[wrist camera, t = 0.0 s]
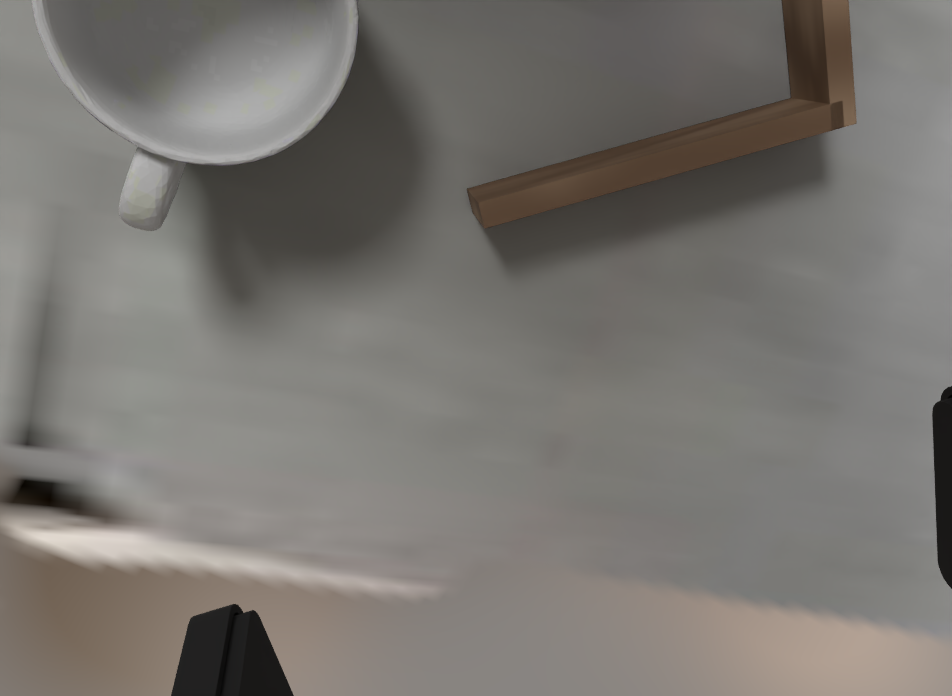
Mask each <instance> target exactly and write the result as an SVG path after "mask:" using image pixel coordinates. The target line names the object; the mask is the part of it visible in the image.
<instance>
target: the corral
mask: <svg viewBox="0 0 952 696" xmlns="http://www.w3.org/2000/svg"><path fill="white" fill-rule="evenodd" d="M782 5H783V16H784V26H785V37H786V47H787V58H788V68H789V79H790V90H791V98H790V99H786V100H782V101H779V102H775V103H772V104H768V105H764V106H761V107H757V108H754V109H750V110H747V111H743V112H739V113H736V114H732V115H729V116H725V117H722V118H718V119H714V120H711V121H707V122H704V123H700V124H697V125H693V126H689V127H686V128H682V129H679V130H675V131H671V132H668V133H664V134H661V135H657V136H654V137H650V138H646V139H643V140H639V141H636V142H632V143H629V144H625V145H621V146H618V147H614V148H611V149H607V150H604V151H600V152H596V153H593V154H589V155H586V156H582V157H578V158H575V159H571V160H568V161H564V162H561V163H557V164H553V165H550V166H546V167H543V168H539V169H536V170H532V171H528V172H525V173H521V174H518V175H514V176H511V177H507V178H503V179H500V180H496V181H493V182H489V183H485V184H482V185H478V186H475V187H471V188H468V189H467V192H468V196H469V200H470V204H471V208H472V212H473V214H474V215H475V216H476V218H477V219H478V220H479V222H480V223H481V224H482V226H483V227H484V228H488V227H492V226H496V225H499V224H503V223H506V222H510V221H513V220H517V219H520V218H524V217H527V216H531V215H534V214H538V213H542V212H545V211H549V210H552V209H556V208H559V207H563V206H566V205H570V204H573V203H577V202H580V201H584V200H588V199H591V198H595V197H598V196H602V195H605V194H609V193H612V192H616V191H619V190H623V189H626V188H630V187H633V186H637V185H641V184H644V183H648V182H651V181H655V180H658V179H662V178H665V177H669V176H672V175H676V174H679V173H683V172H687V171H690V170H694V169H697V168H701V167H704V166H708V165H711V164H715V163H718V162H722V161H725V160H729V159H733V158H736V157H740V156H743V155H747V154H750V153H754V152H757V151H761V150H764V149H768V148H771V147H775V146H779V145H782V144H786V143H789V142H793V141H796V140H800V139H803V138H807V137H810V136H814V135H817V134H821V133H825V132H828V131H832V130H835V129H839V128H842V127H846V126H849V125H853V124H856V107H855V92H854V77H853V62H852V47H851V32H850V17H849V2H848V0H782Z"/></svg>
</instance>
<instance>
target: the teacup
mask: <svg viewBox="0 0 952 696" xmlns="http://www.w3.org/2000/svg"><path fill="white" fill-rule="evenodd" d="M32 9H33V14H34V18H35V22H36V27H37V31H38V33H39V36H40V38H41V40H42V43H43V45H44V47H45V49H46V52H47V54H48V56H49V59H50V62H51V63H52V65H53V67H54V69H55V70H56V72H57V74H58V75H59V77H60V78H61V80H62V82H63V83H64V85H65V86H66V87H67V88H68V89H69V90H70V92H71V93H72V95H73V96H74V97H75V99H76V100H77V101H78V102H79V103H80V104H81V105H82V106H83V107H84V108H85V109H86V110H87V111H88V112H89V113H90V114H91V115H92V116H94V117H95V118H96V119H97V120H98V121H99V122H101V123H102V124H103V125H105V126H106V127H107V128H109V129H110V130H111V131H113V132H115V133H116V134H118V135H120V136H121V137H123V138H124V139H126V140H128V141H129V142H131V143H133V144H135V145H136V146H138V148H137V150H136V152H135V155H134V157H133V160H132V163H131V166H130V169H129V172H128V174H127V177H126V181H125V184H124V187H123V190H122V194H121V198H120V204H119V216H120V218H121V219H122V220H123V221H124V222H125V223H127V224H128V225H130V226H132V227H134V228H138V229H142V230H146V231H154V230H157V229H159V228H160V227H161V226H162V224H163V222H164V220H165V218H166V216H167V214H168V211H169V209H170V206H171V204H172V201H173V199H174V196H175V194H176V191H177V189H178V185H179V182H180V179H181V177H182V174H183V171H184V168H185V165H186V163H191V164H199V165H212V166H227V165H236V164H242V163H249V162H255V161H258V160H261V159H263V158H266V157H269V156H272V155H275V154H277V153H279V152H281V151H283V150H285V149H287V148H289V147H290V146H292V145H293V144H295V143H296V142H297V141H299V140H300V139H302V138H303V137H305V136H306V135H307V134H308V133H309V132H310V131H312V130H313V129H314V128H315V127H316V126H317V125H318V124H319V123H320V122H321V120H322V119H323V118H324V116H325V115H326V114H327V113H328V112H329V110H330V109H331V108H332V106H333V105H334V103H335V102H336V100H337V98H338V97H339V95H340V93H341V91H342V89H343V88H344V86H345V83H346V81H347V79H348V77H349V74H350V71H351V68H352V64H353V61H354V56H355V52H356V44H357V36H358V19H359V15H358V2H357V0H32Z"/></svg>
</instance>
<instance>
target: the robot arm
mask: <svg viewBox="0 0 952 696" xmlns="http://www.w3.org/2000/svg"><path fill="white" fill-rule="evenodd" d="M932 416H933V443H934V470H935V497H936V524H937V551H938V564H939V568H940V571H941V574H942V576H943V578H944V579H945V581H946V582H947V584H948V585H949V586H950V587H951V588H952V386H951V387H948V388H947V389H945V390H944V391H943V393H942V395H941V401H939V402H937V403H936V404H935V405H934V407H933V413H932ZM171 696H294V695H293V693H292V691H291V688H290V686H289V684H288V681H287V679H286V677H285V675H284V672H283V670H282V668H281V665H280V663H279V661H278V658H277V656H276V654H275V652H274V649H273V647H272V645H271V642H270V640H269V638H268V636H267V633H266V631H265V628H264V626H263V624H262V622H261V619H260V617H259V615H258V614H257V613H256V611H254V610H252V611H249V612H245V613H243V611H242V609H241V608H240V607H239V606H238V605H236V604H233V605H229V606H226V607H222V608H219V609H216V610H213V611H209V612H206V613H203V614H199V615H196V616H193V617H192V618H191V619H190V622H189V624H188V628H187V633H186V636H185V641H184V645H183V649H182V653H181V657H180V662H179V665H178V670H177V674H176V678H175V682H174V686H173V690H172V694H171Z"/></svg>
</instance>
